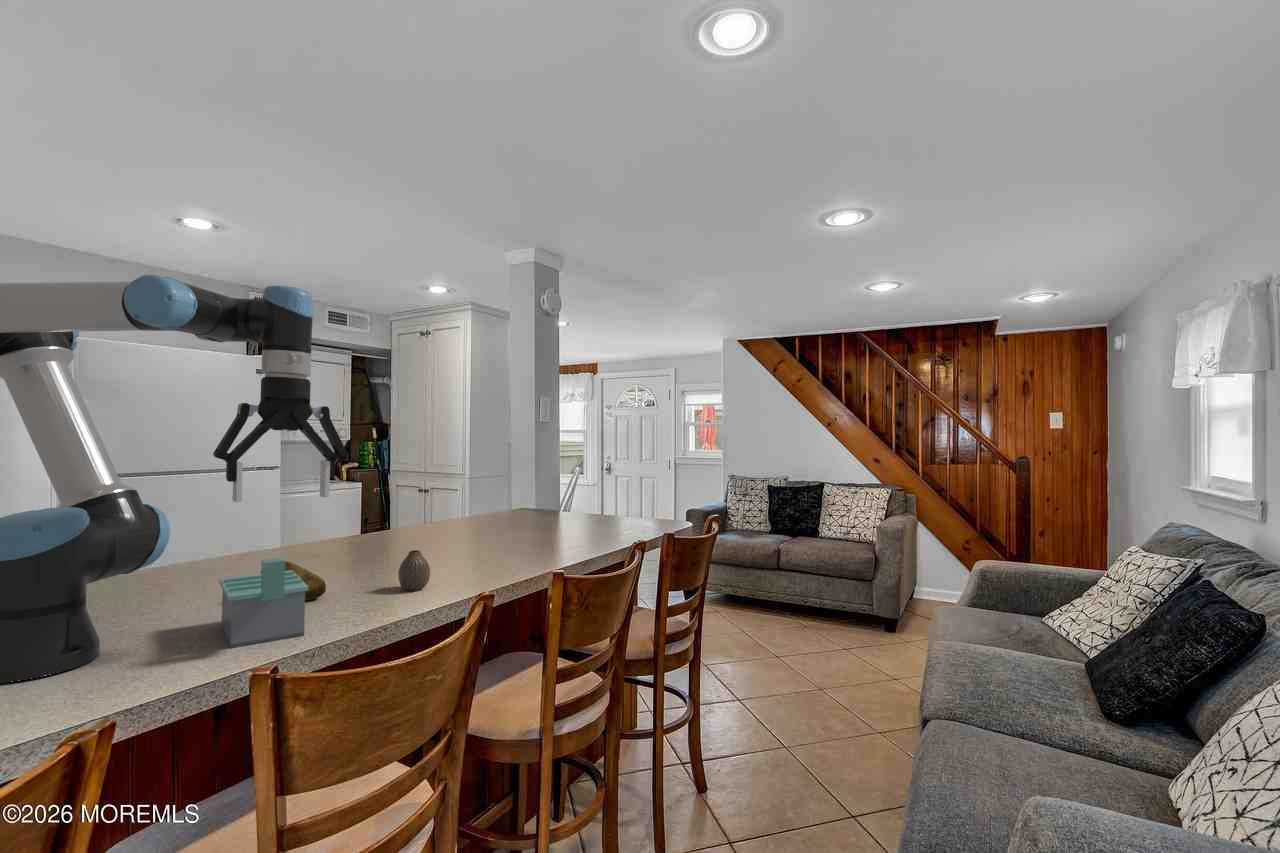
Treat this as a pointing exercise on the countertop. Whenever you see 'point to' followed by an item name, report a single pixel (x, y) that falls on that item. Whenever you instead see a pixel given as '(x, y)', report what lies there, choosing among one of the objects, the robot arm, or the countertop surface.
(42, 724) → the countertop surface
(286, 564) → the potato
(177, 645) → the countertop surface
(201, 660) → the countertop surface
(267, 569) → the lid
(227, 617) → the tub
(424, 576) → the vase
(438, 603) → the countertop surface
